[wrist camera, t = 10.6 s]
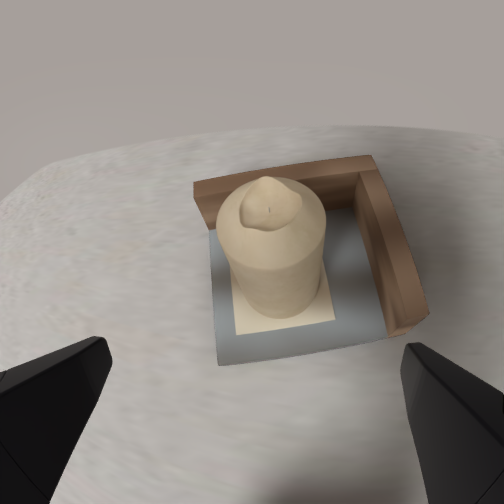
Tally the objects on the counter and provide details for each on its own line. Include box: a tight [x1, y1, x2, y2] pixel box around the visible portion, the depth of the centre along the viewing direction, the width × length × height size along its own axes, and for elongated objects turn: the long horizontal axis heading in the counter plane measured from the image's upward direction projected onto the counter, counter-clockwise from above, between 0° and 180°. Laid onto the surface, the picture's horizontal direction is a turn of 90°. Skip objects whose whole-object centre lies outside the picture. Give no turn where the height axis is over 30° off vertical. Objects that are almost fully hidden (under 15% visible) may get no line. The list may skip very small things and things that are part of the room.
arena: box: [194, 155, 429, 366], centre depth 22 cm, size 12×14×5 cm
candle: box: [216, 176, 326, 319], centre depth 19 cm, size 6×6×10 cm
